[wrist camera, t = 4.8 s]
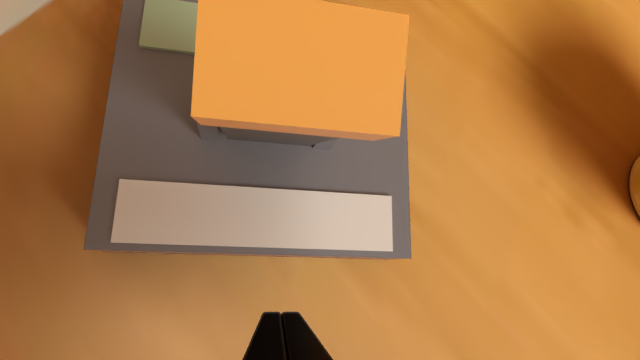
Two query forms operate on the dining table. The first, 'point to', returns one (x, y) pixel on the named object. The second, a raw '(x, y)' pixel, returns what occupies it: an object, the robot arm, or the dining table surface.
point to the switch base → (229, 167)
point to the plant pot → (635, 185)
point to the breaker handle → (298, 70)
